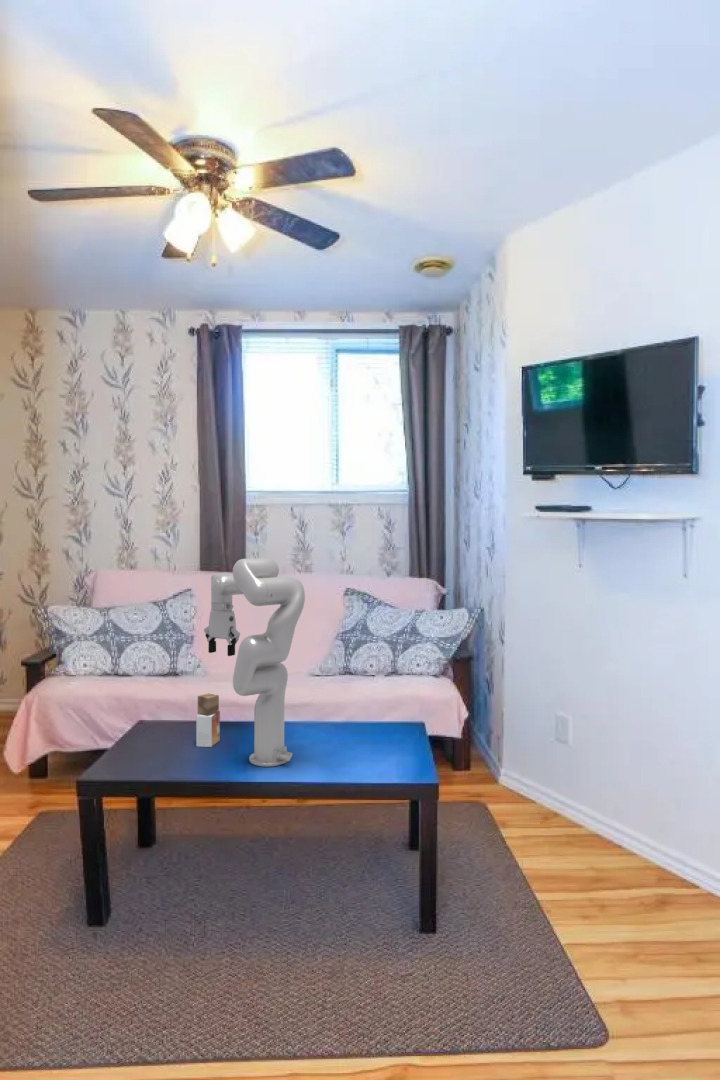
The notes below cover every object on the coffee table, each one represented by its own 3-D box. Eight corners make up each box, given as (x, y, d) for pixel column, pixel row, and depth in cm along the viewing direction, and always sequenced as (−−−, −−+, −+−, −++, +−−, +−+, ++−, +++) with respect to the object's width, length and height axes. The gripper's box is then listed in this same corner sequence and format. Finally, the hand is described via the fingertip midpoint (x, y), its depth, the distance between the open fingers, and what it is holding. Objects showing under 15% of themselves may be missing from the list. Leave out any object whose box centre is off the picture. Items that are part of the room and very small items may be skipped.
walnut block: (218, 712, 231) (218, 695, 231) (207, 716, 227) (207, 698, 227) (208, 710, 234) (208, 693, 234) (197, 713, 230) (197, 696, 230)
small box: (211, 747, 226) (211, 716, 226) (195, 746, 227) (195, 716, 227) (220, 740, 234) (220, 710, 234) (205, 739, 235) (205, 709, 235)
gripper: (246, 607, 241) (246, 655, 241) (212, 604, 251) (212, 649, 251) (231, 609, 235) (231, 658, 235) (197, 606, 244) (197, 652, 245)
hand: (221, 653), depth 243 cm, fingers open, 9 cm apart
